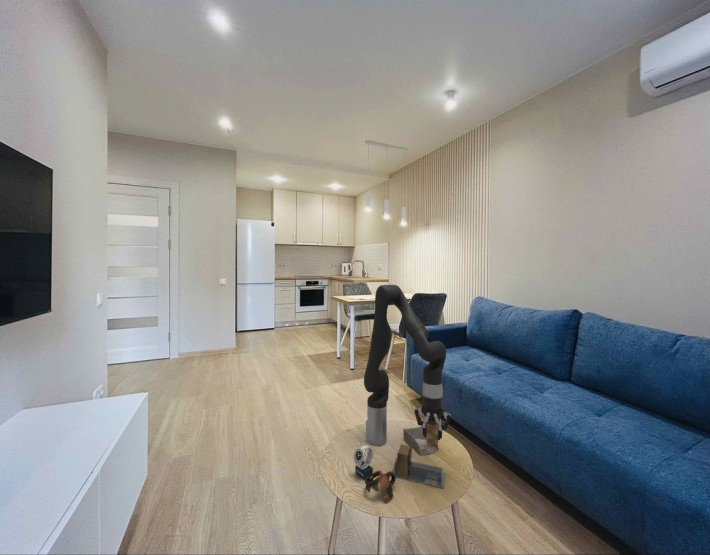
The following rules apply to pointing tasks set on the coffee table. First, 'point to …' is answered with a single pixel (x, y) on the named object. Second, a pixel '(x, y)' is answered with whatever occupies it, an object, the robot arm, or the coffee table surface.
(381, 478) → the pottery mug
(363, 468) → the watch
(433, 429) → the brown wooden block
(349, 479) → the coffee table surface
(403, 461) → the grey and brown stand
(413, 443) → the geological specimen
